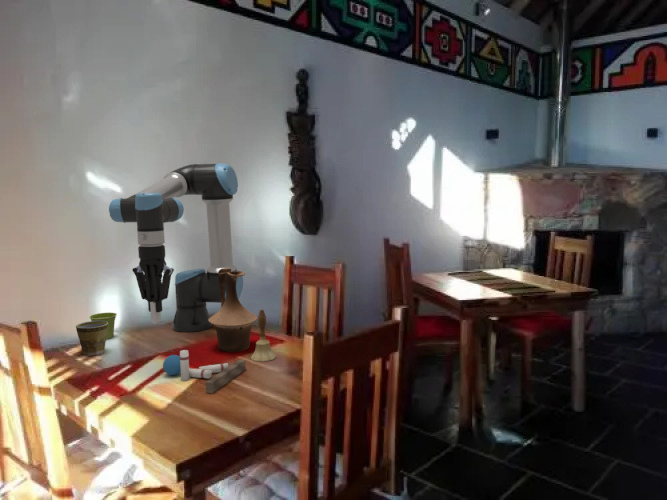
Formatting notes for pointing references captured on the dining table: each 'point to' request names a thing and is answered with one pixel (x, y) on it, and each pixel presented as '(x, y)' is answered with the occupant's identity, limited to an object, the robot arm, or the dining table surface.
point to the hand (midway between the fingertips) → (156, 322)
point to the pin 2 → (215, 367)
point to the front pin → (200, 373)
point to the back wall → (225, 376)
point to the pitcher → (232, 315)
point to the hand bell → (262, 343)
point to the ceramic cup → (92, 337)
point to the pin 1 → (184, 365)
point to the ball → (172, 365)
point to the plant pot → (108, 318)
